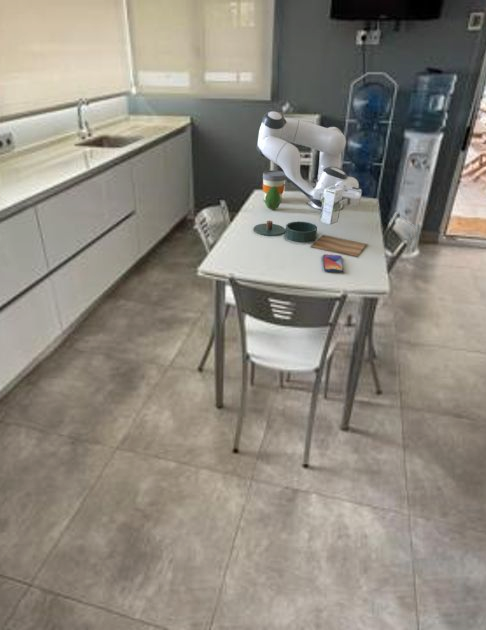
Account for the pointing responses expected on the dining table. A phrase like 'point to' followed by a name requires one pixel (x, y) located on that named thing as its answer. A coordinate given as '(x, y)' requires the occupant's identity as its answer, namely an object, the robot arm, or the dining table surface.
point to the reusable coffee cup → (273, 181)
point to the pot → (301, 232)
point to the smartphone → (333, 263)
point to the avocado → (272, 198)
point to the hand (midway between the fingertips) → (331, 201)
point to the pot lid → (269, 229)
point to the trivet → (339, 245)
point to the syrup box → (331, 205)
